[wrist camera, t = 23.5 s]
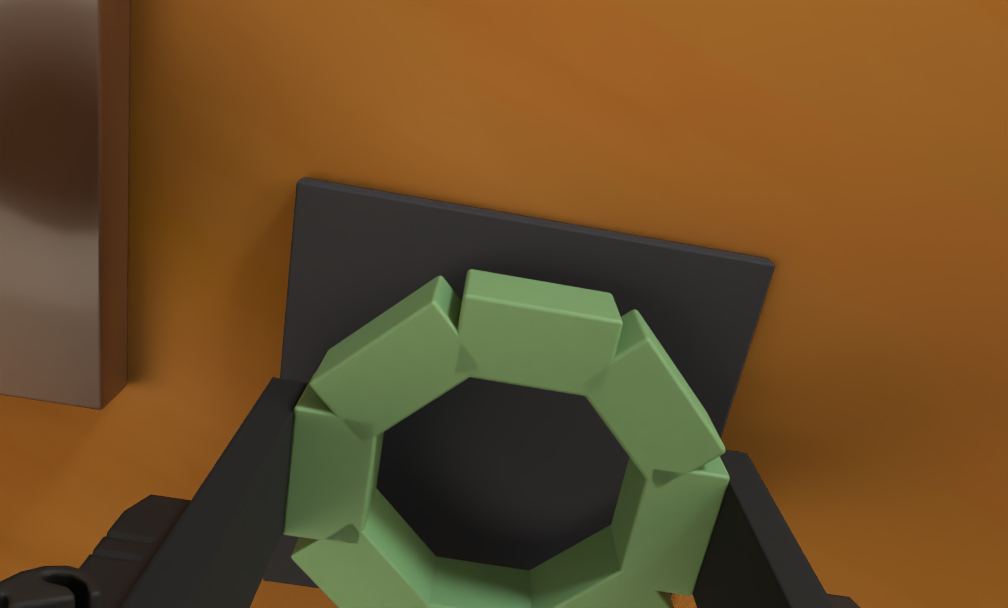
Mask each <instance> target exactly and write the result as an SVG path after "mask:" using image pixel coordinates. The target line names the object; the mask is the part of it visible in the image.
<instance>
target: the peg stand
mask: <svg viewBox="0 0 1008 608" xmlns="http://www.w3.org/2000/svg"><path fill="white" fill-rule="evenodd" d="M129 66H130V0H0V395H7V396H13V397H20V398H26V399H33V400H39V401H46V402H52V403H59V404H65V405H72V406H78V407H85V408H91V409H98V410H100V409H103V408H104V407H105V406H106V405H107V404H108V403H109V402H110V401H111V400H112V399H113V398H114V397H115V396H116V395H117V394H119V393H120V392H121V391H122V390H123V389H124V388H125V387H126V384H127V280H128V173H129Z"/></svg>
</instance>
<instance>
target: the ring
mask: <svg viewBox="0 0 1008 608" xmlns="http://www.w3.org/2000/svg"><path fill="white" fill-rule="evenodd" d="M469 377H472V378H479V379H485V380H491V381H497V382H503V383H509V384H515V385H521V386H527V387H533V388H539V389H545V390H552V391H558V392H564V393H570V394H576V395H582V396H585V397H586V398H587V400H588V401H589V402H590V404H591V405H592V406H593V408H594V409H595V411H596V412H597V413H598V415H599V416H600V417H601V419H602V420H603V421H604V423H605V424H606V426H607V427H608V428H609V430H610V431H611V432H612V434H613V435H614V436H615V438H616V439H617V441H618V442H619V443H620V445H621V446H622V447H623V449H624V450H625V451H626V453H627V454H628V456H629V460H628V464H627V468H626V471H625V475H624V479H623V482H622V486H621V490H620V494H619V497H618V501H617V505H616V508H615V512H614V516H613V520H612V523H611V525H609V526H607V527H606V528H604V529H602V530H600V531H599V532H597V533H595V534H593V535H591V536H590V537H588V538H586V539H584V540H583V541H581V542H579V543H577V544H575V545H574V546H572V547H570V548H568V549H567V550H565V551H563V552H561V553H560V554H558V555H556V556H554V557H552V558H551V559H549V560H547V561H545V562H544V563H542V564H540V565H538V566H537V567H535V568H533V569H531V570H523V569H516V568H509V567H503V566H496V565H489V564H483V563H476V562H470V561H463V560H456V559H450V558H443V557H436V556H435V555H434V554H433V552H432V551H431V550H430V549H429V548H428V547H427V546H426V544H425V543H424V542H423V541H422V540H421V539H420V538H419V536H418V535H417V534H416V533H415V532H414V531H413V530H412V528H411V527H410V526H409V525H408V524H407V523H406V522H405V520H404V519H403V518H402V517H401V516H400V515H399V514H398V512H397V511H396V510H395V509H394V508H393V507H392V505H391V504H390V503H389V502H388V501H387V500H386V499H385V497H384V496H383V495H382V494H381V493H380V492H379V491H378V489H377V488H376V486H377V479H378V472H379V465H380V458H381V451H382V444H383V436H384V431H386V430H387V429H389V428H391V427H392V426H394V425H395V424H397V423H398V422H400V421H402V420H403V419H405V418H406V417H408V416H409V415H411V414H413V413H414V412H416V411H417V410H419V409H420V408H422V407H424V406H425V405H427V404H428V403H430V402H431V401H433V400H435V399H436V398H438V397H439V396H441V395H442V394H444V393H446V392H447V391H449V390H450V389H452V388H453V387H455V386H457V385H458V384H460V383H461V382H463V381H464V380H466V379H468V378H469ZM724 453H725V446H724V444H723V442H722V441H721V439H720V437H719V435H718V433H717V431H716V429H715V427H714V425H713V423H712V421H711V419H710V417H709V415H708V414H707V412H706V410H705V409H704V407H703V406H702V404H701V403H700V401H699V400H698V398H697V397H696V396H695V394H694V393H693V391H692V390H691V388H690V387H689V385H688V384H687V382H686V381H685V379H684V378H683V376H682V375H681V373H680V372H679V370H678V369H677V368H676V366H675V365H674V363H673V362H672V360H671V359H670V357H669V356H668V354H667V353H666V351H665V350H664V348H663V347H662V345H661V344H660V342H659V341H658V340H657V338H656V337H655V335H654V334H653V332H652V331H651V329H650V328H649V326H648V325H647V323H646V322H645V320H644V319H643V317H642V316H641V314H640V313H639V312H638V311H637V310H635V309H634V310H631V311H630V312H628V313H627V314H625V315H623V316H622V317H621V316H620V314H619V311H618V309H617V306H616V303H615V301H614V298H613V296H612V294H610V293H607V292H601V291H595V290H590V289H584V288H578V287H572V286H566V285H561V284H555V283H549V282H543V281H537V280H532V279H526V278H520V277H514V276H508V275H502V274H497V273H491V272H485V271H479V270H473V269H471V270H468V272H467V275H466V281H465V287H464V293H463V298H462V301H461V300H460V299H459V297H458V296H457V295H456V293H455V292H454V291H453V289H452V288H451V287H450V285H449V284H448V283H447V281H446V280H445V279H444V277H442V276H437V277H436V278H434V279H433V280H431V281H430V282H428V283H427V284H425V285H424V286H422V287H421V288H419V289H418V290H416V291H415V292H413V293H412V294H411V295H409V296H408V297H406V298H405V299H403V300H402V301H400V302H399V303H397V304H396V305H394V306H393V307H391V308H390V309H388V310H387V311H385V312H384V313H382V314H381V315H379V316H378V317H377V318H375V319H374V320H372V321H371V322H369V323H368V324H366V325H365V326H363V327H362V328H360V329H359V330H357V331H356V332H354V333H353V334H351V335H350V336H348V337H347V338H345V339H344V340H342V341H341V342H340V343H338V344H337V345H335V346H334V347H332V348H331V349H329V350H328V352H327V353H326V355H325V357H324V359H323V360H322V362H321V364H320V366H319V368H318V369H317V371H316V373H314V374H313V376H312V378H311V380H310V381H309V383H308V385H307V387H306V389H305V390H304V392H303V394H302V396H301V397H300V399H299V401H298V403H297V405H296V406H295V408H294V419H293V429H292V440H291V450H290V460H289V471H288V481H287V492H286V502H285V513H284V523H283V534H285V535H290V536H296V537H299V538H298V541H297V543H296V546H295V548H294V551H293V553H292V555H291V558H292V560H293V561H294V562H295V563H296V564H297V565H298V566H299V567H300V568H301V569H302V570H303V571H304V572H305V573H306V574H307V575H308V576H309V577H310V578H311V579H312V581H313V582H314V583H315V584H316V585H317V586H318V587H319V588H320V589H321V590H322V591H323V592H324V593H325V594H326V595H327V596H328V597H329V598H330V599H331V601H332V602H333V603H334V604H335V605H336V606H337V607H338V608H674V607H673V604H672V600H671V597H670V593H674V594H681V595H687V596H690V595H692V594H693V591H694V587H695V584H696V581H697V578H698V575H699V572H700V569H701V566H702V563H703V560H704V557H705V553H706V550H707V547H708V544H709V541H710V538H711V535H712V532H713V529H714V526H715V523H716V519H717V516H718V513H719V510H720V507H721V504H722V501H723V498H724V495H725V492H726V489H727V486H728V482H729V479H730V477H729V474H728V472H727V470H726V468H725V466H724V464H723V462H722V460H721V458H720V456H721V455H723V454H724Z"/></svg>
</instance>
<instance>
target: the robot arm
mask: <svg viewBox="0 0 1008 608" xmlns="http://www.w3.org/2000/svg"><path fill="white" fill-rule="evenodd" d="M307 385H308V383H306V382H300V381H293V380H287V379H281V378H275V377H273V378H272V379H271V381H270V382H269V384H268V385H267V387H266V388H265V390H264V391H263V393H262V394H261V396H260V397H259V399H258V400H257V402H256V403H255V405H254V406H253V408H252V410H251V411H250V413H249V414H248V416H247V417H246V419H245V420H244V422H243V423H242V425H241V426H240V428H239V429H238V431H237V432H236V434H235V435H234V437H233V438H232V440H231V441H230V443H229V444H228V446H227V447H226V449H225V450H224V452H223V453H222V455H221V456H220V458H219V459H218V461H217V462H216V464H215V465H214V467H213V468H212V470H211V471H210V473H209V474H208V476H207V478H206V479H205V481H204V482H203V484H202V485H201V487H200V488H199V490H198V491H197V493H196V494H195V496H194V497H193V499H192V500H184V499H177V498H171V497H164V496H157V495H150V496H148V497H146V498H145V499H143V500H141V501H140V502H138V503H137V504H135V505H133V506H132V507H130V508H128V509H127V510H125V511H124V512H123V513H122V514H121V516H120V517H119V518H118V520H117V521H116V522H115V523H114V525H113V526H112V527H111V528H110V530H109V531H108V532H107V536H106V537H103V539H102V540H101V541H100V542H99V544H98V545H97V546H96V548H95V549H94V550H93V554H92V555H89V556H88V558H87V559H86V560H85V562H84V563H83V564H82V565H81V567H80V568H79V569H77V568H73V567H70V566H43V567H39V568H35V569H30V570H26V571H22V572H19V573H17V574H15V575H13V576H11V577H9V578H7V579H5V580H3V581H1V582H0V608H249V607H250V605H251V603H252V601H253V598H254V596H255V594H256V591H257V589H258V587H259V585H260V582H261V580H262V578H263V576H264V573H265V571H266V569H267V566H268V564H269V562H270V560H271V557H272V555H273V553H274V551H275V548H276V546H277V544H278V541H279V539H280V537H281V535H282V532H283V523H284V513H285V502H286V492H287V481H288V471H289V460H290V450H291V440H292V429H293V419H294V408H295V406H296V405H297V403H298V401H299V399H300V397H301V396H302V394H303V392H304V390H305V389H306V387H307ZM720 458H721V460H722V462H723V464H724V466H725V468H726V470H727V472H728V474H729V477H730V479H729V482H728V486H727V489H726V492H725V495H724V498H723V501H722V504H721V507H720V510H719V513H718V516H717V519H716V523H715V526H714V529H713V532H712V535H711V538H710V541H709V544H708V547H707V550H706V553H705V557H704V560H703V563H702V566H701V569H700V572H699V575H698V578H697V581H696V584H695V587H694V591H693V596H694V599H695V602H696V606H697V608H860V607H859V606H858V605H857V604H856V603H855V602H854V601H853V600H852V599H851V598H850V597H845V596H839V595H832V594H826V592H825V590H824V588H823V587H822V585H821V583H820V581H819V580H818V578H817V576H816V574H815V573H814V571H813V569H812V567H811V565H810V564H809V562H808V560H807V558H806V557H805V555H804V553H803V551H802V550H801V548H800V546H799V544H798V543H797V541H796V539H795V537H794V535H793V534H792V532H791V530H790V528H789V527H788V525H787V523H786V521H785V520H784V518H783V516H782V514H781V513H780V511H779V509H778V507H777V505H776V504H775V502H774V500H773V498H772V497H771V495H770V493H769V491H768V490H767V488H766V486H765V484H764V483H763V481H762V479H761V477H760V475H759V474H758V472H757V470H756V468H755V467H754V465H753V463H752V461H751V460H750V458H749V456H748V454H747V453H743V452H737V451H731V450H725V453H724V454H723V455H721V456H720Z"/></svg>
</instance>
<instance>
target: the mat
mask: <svg viewBox="0 0 1008 608" xmlns="http://www.w3.org/2000/svg"><path fill="white" fill-rule="evenodd" d="M774 268H775V265H774V264H773V263H772V262H771V261H770V260H768V259H767V258H761V257H756V256H750V255H744V254H738V253H733V252H727V251H721V250H716V249H710V248H704V247H698V246H693V245H687V244H681V243H676V242H670V241H664V240H658V239H653V238H647V237H641V236H635V235H630V234H624V233H618V232H613V231H607V230H601V229H595V228H590V227H584V226H578V225H573V224H567V223H561V222H555V221H550V220H544V219H538V218H533V217H527V216H521V215H515V214H510V213H504V212H498V211H492V210H487V209H481V208H475V207H470V206H464V205H458V204H452V203H447V202H441V201H435V200H430V199H424V198H418V197H412V196H407V195H401V194H395V193H390V192H384V191H378V190H372V189H367V188H361V187H355V186H350V185H344V184H338V183H332V182H327V181H321V180H315V179H309V178H302V179H301V180H299V181H298V182H297V186H296V198H295V209H294V221H293V233H292V244H291V256H290V268H289V279H288V291H287V303H286V314H285V326H284V337H283V349H282V361H281V372H280V378H281V379H287V380H293V381H300V382H306V383H309V381H310V380H311V378H312V376H313V374H314V373H316V371H317V369H318V368H319V366H320V364H321V362H322V360H323V359H324V357H325V355H326V353H327V352H328V350H329V349H331V348H332V347H334V346H335V345H337V344H338V343H340V342H341V341H342V340H344V339H345V338H347V337H348V336H350V335H351V334H353V333H354V332H356V331H357V330H359V329H360V328H362V327H363V326H365V325H366V324H368V323H369V322H371V321H372V320H374V319H375V318H377V317H378V316H379V315H381V314H382V313H384V312H385V311H387V310H388V309H390V308H391V307H393V306H394V305H396V304H397V303H399V302H400V301H402V300H403V299H405V298H406V297H408V296H409V295H411V294H412V293H413V292H415V291H416V290H418V289H419V288H421V287H422V286H424V285H425V284H427V283H428V282H430V281H431V280H433V279H434V278H436V277H437V276H442V277H444V279H445V280H446V281H447V283H448V284H449V285H450V287H451V288H452V289H453V291H454V292H455V293H456V295H457V296H458V297H459V299H460V300H461V301H462V298H463V293H464V287H465V281H466V275H467V272H468V270H471V269H473V270H479V271H485V272H491V273H497V274H502V275H508V276H514V277H520V278H526V279H532V280H537V281H543V282H549V283H555V284H561V285H566V286H572V287H578V288H584V289H590V290H595V291H601V292H607V293H610V294H612V296H613V298H614V301H615V303H616V306H617V309H618V311H619V314H620V316H621V317H622V316H623V315H625V314H627V313H628V312H630V311H631V310H634V309H635V310H637V311H638V312H639V313H640V314H641V316H642V317H643V319H644V320H645V322H646V323H647V325H648V326H649V328H650V329H651V331H652V332H653V334H654V335H655V337H656V338H657V340H658V341H659V342H660V344H661V345H662V347H663V348H664V350H665V351H666V353H667V354H668V356H669V357H670V359H671V360H672V362H673V363H674V365H675V366H676V368H677V369H678V370H679V372H680V373H681V375H682V376H683V378H684V379H685V381H686V382H687V384H688V385H689V387H690V388H691V390H692V391H693V393H694V394H695V396H696V397H697V398H698V400H699V401H700V403H701V404H702V406H703V407H704V409H705V410H706V412H707V414H708V415H709V417H710V419H711V421H712V423H713V425H714V427H715V429H716V431H717V433H718V435H719V437H720V439H721V436H722V433H723V430H724V426H725V423H726V420H727V417H728V414H729V411H730V407H731V404H732V401H733V398H734V395H735V392H736V388H737V385H738V382H739V379H740V376H741V373H742V369H743V366H744V363H745V360H746V357H747V354H748V350H749V347H750V344H751V341H752V338H753V335H754V331H755V328H756V325H757V322H758V319H759V315H760V312H761V309H762V306H763V303H764V300H765V296H766V293H767V290H768V287H769V284H770V281H771V277H772V274H773V271H774ZM628 460H629V456H628V454H627V453H626V451H625V450H624V449H623V447H622V446H621V445H620V443H619V442H618V441H617V439H616V438H615V436H614V435H613V434H612V432H611V431H610V430H609V428H608V427H607V426H606V424H605V423H604V421H603V420H602V419H601V417H600V416H599V415H598V413H597V412H596V411H595V409H594V408H593V406H592V405H591V404H590V402H589V401H588V400H587V398H586V397H585V396H582V395H576V394H570V393H564V392H558V391H552V390H545V389H539V388H533V387H527V386H521V385H515V384H509V383H503V382H497V381H491V380H485V379H479V378H472V377H469V378H468V379H466V380H464V381H463V382H461V383H460V384H458V385H457V386H455V387H453V388H452V389H450V390H449V391H447V392H446V393H444V394H442V395H441V396H439V397H438V398H436V399H435V400H433V401H431V402H430V403H428V404H427V405H425V406H424V407H422V408H420V409H419V410H417V411H416V412H414V413H413V414H411V415H409V416H408V417H406V418H405V419H403V420H402V421H400V422H398V423H397V424H395V425H394V426H392V427H391V428H389V429H387V430H386V431H384V436H383V444H382V451H381V458H380V465H379V472H378V479H377V486H376V488H377V489H378V491H379V492H380V493H381V494H382V495H383V496H384V497H385V499H386V500H387V501H388V502H389V503H390V504H391V505H392V507H393V508H394V509H395V510H396V511H397V512H398V514H399V515H400V516H401V517H402V518H403V519H404V520H405V522H406V523H407V524H408V525H409V526H410V527H411V528H412V530H413V531H414V532H415V533H416V534H417V535H418V536H419V538H420V539H421V540H422V541H423V542H424V543H425V544H426V546H427V547H428V548H429V549H430V550H431V551H432V552H433V554H434V555H435V556H436V557H443V558H450V559H456V560H463V561H470V562H476V563H483V564H489V565H496V566H503V567H509V568H516V569H523V570H531V569H533V568H535V567H537V566H538V565H540V564H542V563H544V562H545V561H547V560H549V559H551V558H552V557H554V556H556V555H558V554H560V553H561V552H563V551H565V550H567V549H568V548H570V547H572V546H574V545H575V544H577V543H579V542H581V541H583V540H584V539H586V538H588V537H590V536H591V535H593V534H595V533H597V532H599V531H600V530H602V529H604V528H606V527H607V526H609V525H611V523H612V520H613V516H614V512H615V508H616V505H617V501H618V497H619V494H620V490H621V486H622V482H623V479H624V475H625V471H626V468H627V464H628ZM298 538H299V537H296V536H290V535H285V534H283V532H282V535H281V537H280V539H279V541H278V544H277V546H276V548H275V551H274V553H273V555H272V557H271V560H270V562H269V564H268V566H267V569H266V571H265V573H264V576H263V580H265V581H272V582H279V583H286V584H294V585H301V586H308V587H315V588H319V587H318V586H317V585H316V584H315V583H314V582H313V581H312V579H311V578H310V577H309V576H308V575H307V574H306V573H305V572H304V571H303V570H302V569H301V568H300V567H299V566H298V565H297V564H296V563H295V562H294V561H293V560H292V558H291V555H292V553H293V551H294V548H295V546H296V543H297V541H298ZM671 595H672V593H670V597H671Z"/></svg>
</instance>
